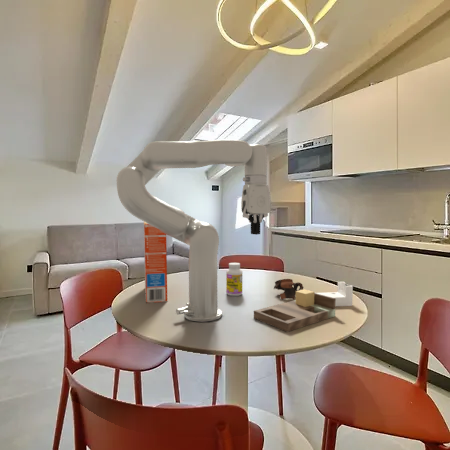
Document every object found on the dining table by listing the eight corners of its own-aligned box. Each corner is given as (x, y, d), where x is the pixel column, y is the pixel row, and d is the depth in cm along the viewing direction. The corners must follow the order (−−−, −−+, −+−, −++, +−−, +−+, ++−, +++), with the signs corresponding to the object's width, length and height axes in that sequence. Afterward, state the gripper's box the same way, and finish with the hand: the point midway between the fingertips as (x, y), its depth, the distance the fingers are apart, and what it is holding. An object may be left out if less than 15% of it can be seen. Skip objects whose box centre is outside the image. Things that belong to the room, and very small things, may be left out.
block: (305, 306, 117) (305, 293, 117) (295, 303, 121) (295, 291, 121) (314, 304, 120) (314, 291, 120) (304, 301, 124) (304, 289, 123)
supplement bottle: (223, 295, 142) (223, 264, 141) (230, 291, 148) (230, 261, 147) (238, 297, 139) (238, 265, 138) (244, 293, 145) (244, 262, 144)
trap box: (287, 331, 102) (287, 311, 101) (253, 318, 114) (253, 300, 114) (335, 316, 116) (335, 298, 115) (300, 305, 128) (300, 289, 127)
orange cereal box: (167, 301, 133) (166, 224, 131) (146, 303, 132) (144, 224, 129) (163, 287, 156) (162, 220, 154) (145, 288, 154) (143, 221, 152)
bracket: (343, 300, 134) (344, 281, 134) (352, 306, 127) (352, 286, 127) (311, 302, 133) (311, 282, 132) (318, 307, 126) (318, 287, 125)
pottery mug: (273, 300, 136) (270, 280, 140) (279, 305, 144) (276, 285, 148) (303, 295, 132) (299, 274, 136) (307, 300, 140) (304, 280, 144)
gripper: (245, 180, 112) (245, 236, 113) (278, 181, 121) (278, 233, 122) (231, 181, 118) (231, 234, 119) (264, 182, 127) (263, 232, 128)
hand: (255, 234), depth 120 cm, fingers closed
